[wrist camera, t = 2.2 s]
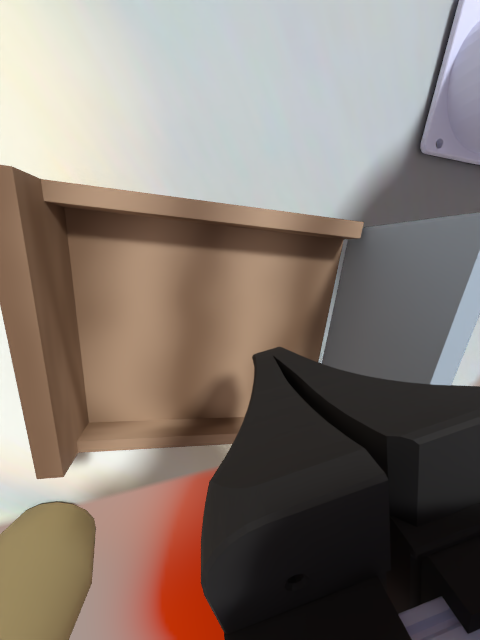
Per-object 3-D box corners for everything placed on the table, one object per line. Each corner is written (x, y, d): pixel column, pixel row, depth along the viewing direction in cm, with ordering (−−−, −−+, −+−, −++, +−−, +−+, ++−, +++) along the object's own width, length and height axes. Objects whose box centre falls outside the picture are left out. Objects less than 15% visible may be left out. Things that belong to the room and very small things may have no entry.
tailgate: (371, 232, 14) (529, 216, 7) (326, 420, 18) (402, 523, 11) (350, 229, 13) (494, 209, 7) (309, 421, 17) (376, 527, 11)
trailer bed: (328, 228, 15) (385, 218, 10) (295, 406, 19) (325, 457, 14) (58, 194, 12) (-30, 160, 8) (84, 412, 16) (36, 478, 12)
